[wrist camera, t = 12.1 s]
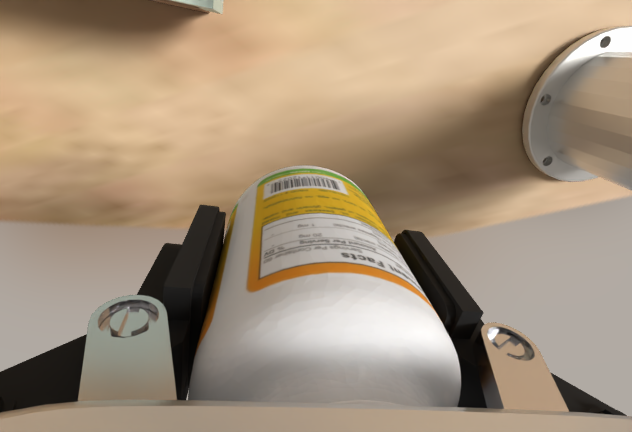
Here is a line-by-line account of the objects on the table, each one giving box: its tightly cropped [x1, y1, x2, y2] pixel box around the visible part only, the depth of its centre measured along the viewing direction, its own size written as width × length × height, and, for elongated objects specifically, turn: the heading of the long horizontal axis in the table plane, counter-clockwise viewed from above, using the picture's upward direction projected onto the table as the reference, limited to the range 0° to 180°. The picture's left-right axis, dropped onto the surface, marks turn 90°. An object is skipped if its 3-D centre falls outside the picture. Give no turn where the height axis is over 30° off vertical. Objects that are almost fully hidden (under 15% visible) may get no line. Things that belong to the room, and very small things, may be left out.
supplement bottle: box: [188, 165, 461, 407], centre depth 9 cm, size 5×5×10 cm
